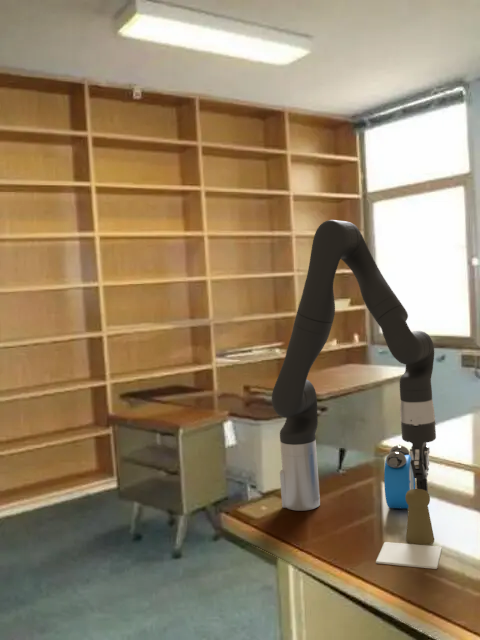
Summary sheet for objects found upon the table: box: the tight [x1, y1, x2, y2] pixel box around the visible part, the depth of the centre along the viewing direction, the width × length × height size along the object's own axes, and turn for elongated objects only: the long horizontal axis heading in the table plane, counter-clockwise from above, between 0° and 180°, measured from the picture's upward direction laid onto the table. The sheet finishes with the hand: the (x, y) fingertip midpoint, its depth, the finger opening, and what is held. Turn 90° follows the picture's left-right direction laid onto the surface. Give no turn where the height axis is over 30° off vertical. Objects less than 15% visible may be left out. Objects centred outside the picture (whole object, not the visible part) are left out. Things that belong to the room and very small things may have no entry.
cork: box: [405, 488, 435, 545], centre depth 143 cm, size 6×6×11 cm
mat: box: [375, 541, 443, 570], centre depth 136 cm, size 12×10×1 cm
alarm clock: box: [383, 444, 416, 510], centre depth 163 cm, size 13×6×15 cm, turn 159°
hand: (422, 493), depth 149 cm, fingers closed
